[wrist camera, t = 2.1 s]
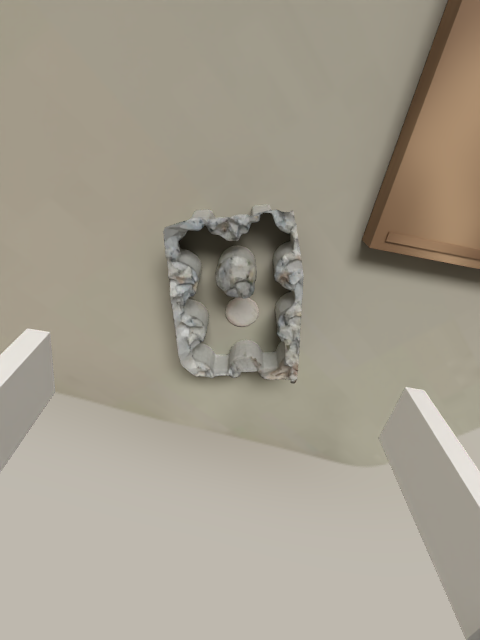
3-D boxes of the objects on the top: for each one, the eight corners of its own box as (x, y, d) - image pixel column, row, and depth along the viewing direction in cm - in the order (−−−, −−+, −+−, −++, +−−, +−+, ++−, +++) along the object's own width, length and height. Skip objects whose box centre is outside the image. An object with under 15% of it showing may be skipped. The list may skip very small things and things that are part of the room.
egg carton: (292, 353, 26) (300, 391, 22) (188, 354, 26) (179, 392, 22) (301, 199, 20) (312, 216, 17) (170, 203, 21) (155, 220, 17)
